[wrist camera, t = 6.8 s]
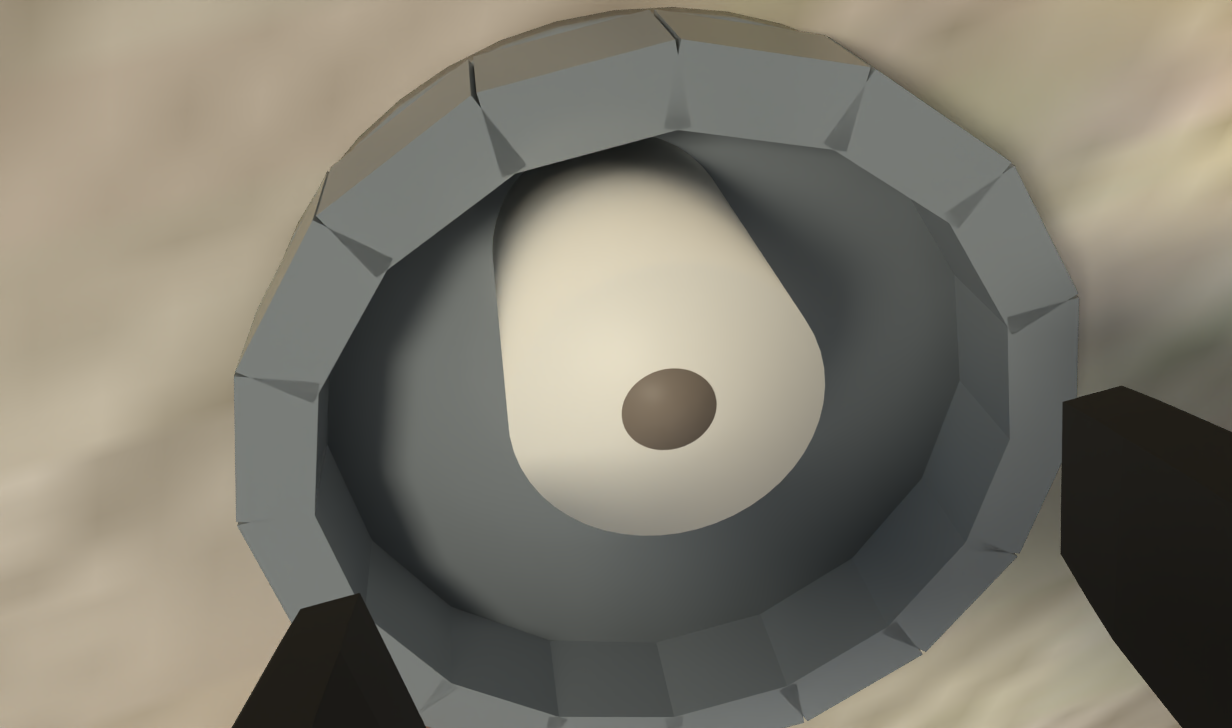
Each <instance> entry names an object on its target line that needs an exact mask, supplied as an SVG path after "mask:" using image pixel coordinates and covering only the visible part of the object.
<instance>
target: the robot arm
mask: <svg viewBox="0 0 1232 728" xmlns="http://www.w3.org/2000/svg"><path fill="white" fill-rule="evenodd" d="M1061 555H1062V557H1063V558H1064V560H1065V562H1066V564H1067V565H1068V567H1069V569H1070V570H1071V572H1072V574H1073V575H1074V577H1075V579H1076V581H1077V582H1078V584H1079V586H1080V587H1081V589H1082V591H1083V592H1084V594H1085V596H1086V598H1087V599H1088V601H1089V602H1090V604H1091V606H1092V607H1093V609H1094V610H1095V612H1096V614H1097V615H1098V617H1099V618H1100V620H1101V622H1102V623H1103V625H1104V626H1105V628H1106V630H1107V631H1108V633H1109V634H1110V636H1111V637H1112V639H1113V640H1114V642H1115V643H1116V644H1117V646H1118V647H1119V648H1120V650H1121V651H1122V652H1123V653H1124V655H1125V656H1126V657H1127V659H1128V660H1129V661H1130V663H1131V664H1132V665H1133V666H1134V668H1135V669H1136V670H1137V671H1138V673H1139V674H1140V675H1141V676H1142V678H1143V679H1144V680H1145V682H1146V683H1147V684H1148V685H1149V687H1150V688H1151V689H1152V690H1153V692H1154V693H1155V694H1156V695H1157V697H1158V698H1159V699H1160V701H1161V702H1162V703H1163V704H1164V706H1165V707H1166V708H1167V709H1168V711H1169V712H1170V713H1171V714H1172V716H1173V717H1174V718H1175V719H1176V721H1177V722H1178V723H1179V724H1180V726H1181V727H1182V728H1232V432H1230V431H1228V430H1226V429H1223V428H1221V427H1219V426H1216V425H1214V424H1212V423H1210V422H1207V421H1205V420H1203V419H1201V418H1198V417H1196V416H1194V415H1191V414H1189V413H1187V412H1185V411H1182V410H1180V409H1178V408H1175V407H1173V406H1171V405H1168V404H1166V403H1164V402H1161V401H1159V400H1157V399H1154V398H1152V397H1149V396H1147V395H1144V394H1142V393H1139V392H1137V391H1134V390H1132V389H1129V388H1126V387H1124V386H1119V387H1115V388H1112V389H1108V390H1104V391H1101V392H1097V393H1093V394H1089V395H1086V396H1082V397H1078V398H1075V399H1071V400H1067V401H1064V402H1062V484H1061ZM232 728H426V726H425V724H424V722H423V720H422V718H421V716H420V714H419V712H418V710H417V708H416V706H415V704H414V702H413V700H412V698H411V696H410V694H409V692H408V689H407V687H406V685H405V683H404V681H403V679H402V677H401V675H400V673H399V671H398V669H397V667H396V665H395V663H394V661H393V659H392V657H391V655H390V653H389V651H388V649H387V647H386V645H385V643H384V641H383V639H382V637H381V635H380V633H379V631H378V629H377V627H376V624H375V622H374V620H373V618H372V616H371V614H370V612H369V610H368V608H367V606H366V604H365V602H364V600H363V598H362V596H361V594H360V593H357V594H353V595H350V596H346V597H342V598H339V599H335V600H331V601H328V602H324V603H320V604H317V605H313V606H309V607H305V608H302V609H300V610H299V612H298V614H297V615H296V617H295V619H294V620H293V622H292V624H291V625H290V627H289V629H288V630H287V632H286V634H285V635H284V637H283V639H282V640H281V642H280V644H279V646H278V647H277V649H276V651H275V653H274V654H273V656H272V658H271V660H270V661H269V663H268V665H267V667H266V668H265V670H264V672H263V674H262V676H261V677H260V679H259V681H258V683H257V684H256V686H255V688H254V690H253V691H252V693H251V695H250V697H249V698H248V700H247V702H246V704H245V705H244V707H243V709H242V711H241V712H240V714H239V716H238V718H237V719H236V721H235V723H234V725H233V726H232Z"/></svg>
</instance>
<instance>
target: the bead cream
mask: <svg viewBox="0 0 1232 728" xmlns="http://www.w3.org/2000/svg"><path fill="white" fill-rule="evenodd" d="M492 255H493V266H494V276H495V287H496V298H497V308H498V319H499V330H500V340H501V351H502V361H503V372H504V383H505V393H506V404H507V415H508V425H509V435H510V439H511V443H512V447H513V451H514V453H515V456H516V458H517V460H518V463H519V465H520V467H521V469H522V471H523V472H524V474H525V475H526V477H527V478H528V480H529V481H530V483H531V484H532V485H533V486H534V488H535V489H536V490H537V491H538V492H539V493H540V494H541V495H542V496H543V497H544V498H545V499H546V500H547V501H548V502H550V503H551V504H552V505H553V506H554V507H556V508H557V509H559V510H560V511H562V512H563V513H565V514H567V515H568V516H570V517H572V518H574V519H576V520H578V521H580V522H582V523H584V524H587V525H590V526H593V527H596V528H599V529H602V530H605V531H610V532H615V533H620V534H628V535H638V536H656V535H668V534H677V533H682V532H687V531H691V530H696V529H699V528H703V527H706V526H709V525H712V524H715V523H717V522H720V521H722V520H724V519H726V518H729V517H731V516H733V515H735V514H737V513H739V512H740V511H742V510H744V509H746V508H747V507H749V506H751V505H752V504H754V503H755V502H757V501H758V500H759V499H761V498H762V497H764V496H765V495H766V494H768V493H769V492H770V491H771V490H772V489H773V488H774V487H775V486H777V485H778V484H779V483H780V482H781V481H782V480H783V479H784V478H785V477H786V475H787V474H788V473H789V472H790V471H791V470H792V469H793V468H794V466H795V465H796V463H797V462H798V461H799V459H800V458H801V456H802V455H803V454H804V452H805V450H806V448H807V447H808V445H809V443H810V441H811V439H812V437H813V435H814V432H815V430H816V427H817V425H818V422H819V419H820V415H821V411H822V407H823V403H824V392H825V375H824V365H823V360H822V356H821V351H820V348H819V346H818V343H817V341H816V338H815V336H814V334H813V332H812V330H811V328H810V327H809V325H808V323H807V322H806V320H805V318H804V317H803V315H802V314H801V312H800V311H799V309H798V308H797V306H796V305H795V303H794V302H793V300H792V299H791V297H790V296H789V294H788V293H787V291H786V290H785V288H784V287H783V285H782V284H781V282H780V280H779V279H778V277H777V276H776V274H775V273H774V271H773V270H772V268H771V267H770V265H769V264H768V262H767V261H766V259H765V258H764V256H763V255H762V253H761V252H760V250H759V249H758V247H757V246H756V244H755V243H754V241H753V240H752V238H751V237H750V235H749V234H748V232H747V230H746V229H745V227H744V226H743V224H742V223H741V221H740V220H739V218H738V217H737V215H736V214H735V212H734V211H733V209H732V208H731V206H730V205H729V203H728V202H727V200H726V199H725V197H724V196H723V194H722V193H721V191H720V190H719V188H718V187H717V185H716V184H715V182H714V181H713V179H712V178H711V176H710V175H709V174H708V173H707V171H706V170H705V169H704V168H703V166H701V165H700V164H699V163H698V162H697V161H696V160H695V159H694V158H693V157H692V156H690V155H689V154H688V153H686V152H685V151H683V150H682V149H680V148H679V147H677V146H675V145H673V144H671V143H669V142H667V141H665V140H662V139H659V138H656V137H650V138H646V139H642V140H638V141H635V142H631V143H627V144H623V145H620V146H616V147H612V148H609V149H605V150H601V151H597V152H594V153H590V154H586V155H582V156H579V157H575V158H571V159H568V160H564V161H560V162H556V163H553V164H549V165H545V166H541V167H538V168H534V169H530V170H527V171H525V172H524V173H523V174H522V175H521V176H520V177H519V178H518V179H517V181H516V182H515V183H514V185H513V186H512V188H511V189H510V191H509V192H508V194H507V196H506V198H505V200H504V202H503V204H502V206H501V208H500V211H499V214H498V217H497V220H496V223H495V228H494V234H493V245H492Z"/></svg>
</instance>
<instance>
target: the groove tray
mask: <svg viewBox="0 0 1232 728" xmlns="http://www.w3.org/2000/svg"><path fill="white" fill-rule="evenodd" d="M650 137H656V138H659V139H662V140H665V141H667V142H669V143H671V144H673V145H675V146H677V147H679V148H680V149H682V150H683V151H685V152H686V153H688V154H689V155H690V156H692V157H693V158H694V159H695V160H696V161H697V162H698V163H699V164H700V165H701V166H703V168H704V169H705V170H706V171H707V173H708V174H709V175H710V176H711V178H712V179H713V181H714V182H715V184H716V185H717V187H718V188H719V190H720V191H721V193H722V194H723V196H724V197H725V199H726V200H727V202H728V203H729V205H730V206H731V208H732V209H733V211H734V212H735V214H736V215H737V217H738V218H739V220H740V221H741V223H742V224H743V226H744V227H745V229H746V230H747V232H748V234H749V235H750V237H751V238H752V240H753V241H754V243H755V244H756V246H757V247H758V249H759V250H760V252H761V253H762V255H763V256H764V258H765V259H766V261H767V262H768V264H769V265H770V267H771V268H772V270H773V271H774V273H775V274H776V276H777V277H778V279H779V280H780V282H781V284H782V285H783V287H784V288H785V290H786V291H787V293H788V294H789V296H790V297H791V299H792V300H793V302H794V303H795V305H796V306H797V308H798V309H799V311H800V312H801V314H802V315H803V317H804V318H805V320H806V322H807V323H808V325H809V327H810V328H811V330H812V332H813V334H814V336H815V338H816V341H817V343H818V346H819V348H820V351H821V356H822V360H823V365H824V375H825V392H824V403H823V407H822V411H821V415H820V419H819V422H818V425H817V427H816V430H815V432H814V435H813V437H812V439H811V441H810V443H809V445H808V447H807V448H806V450H805V452H804V454H803V455H802V456H801V458H800V459H799V461H798V462H797V463H796V465H795V466H794V468H793V469H792V470H791V471H790V472H789V473H788V474H787V475H786V477H785V478H784V479H783V480H782V481H781V482H780V483H779V484H778V485H777V486H775V487H774V488H773V489H772V490H771V491H770V492H769V493H768V494H766V495H765V496H764V497H762V498H761V499H759V500H758V501H757V502H755V503H754V504H752V505H751V506H749V507H747V508H746V509H744V510H742V511H740V512H739V513H737V514H735V515H733V516H731V517H729V518H726V519H724V520H722V521H720V522H717V523H715V524H712V525H709V526H706V527H703V528H699V529H696V530H691V531H687V532H682V533H677V534H668V535H656V536H638V535H628V534H620V533H615V532H610V531H605V530H602V529H599V528H596V527H593V526H590V525H587V524H584V523H582V522H580V521H578V520H576V519H574V518H572V517H570V516H568V515H567V514H565V513H563V512H562V511H560V510H559V509H557V508H556V507H554V506H553V505H552V504H551V503H550V502H548V501H547V500H546V499H545V498H544V497H543V496H542V495H541V494H540V493H539V492H538V491H537V490H536V489H535V488H534V486H533V485H532V484H531V483H530V481H529V480H528V478H527V477H526V475H525V474H524V472H523V471H522V469H521V467H520V465H519V463H518V460H517V458H516V456H515V453H514V451H513V447H512V443H511V439H510V435H509V425H508V415H507V404H506V393H505V383H504V372H503V361H502V351H501V340H500V330H499V319H498V308H497V298H496V287H495V276H494V266H493V255H492V245H493V234H494V228H495V223H496V220H497V217H498V214H499V211H500V208H501V206H502V204H503V202H504V200H505V198H506V196H507V194H508V192H509V191H510V189H511V188H512V186H513V185H514V183H515V182H516V181H517V179H518V178H519V177H520V176H521V175H522V174H523V173H524V172H525V171H527V170H530V169H534V168H538V167H541V166H545V165H549V164H553V163H556V162H560V161H564V160H568V159H571V158H575V157H579V156H582V155H586V154H590V153H594V152H597V151H601V150H605V149H609V148H612V147H616V146H620V145H623V144H627V143H631V142H635V141H638V140H642V139H646V138H650ZM1077 294H1078V292H1077V290H1076V288H1075V286H1074V284H1073V282H1072V280H1071V278H1070V276H1069V274H1068V272H1067V270H1066V268H1065V266H1064V264H1063V262H1062V260H1061V258H1060V256H1059V254H1058V252H1057V250H1056V248H1055V246H1054V244H1053V242H1052V240H1051V238H1050V236H1049V234H1048V232H1047V230H1046V228H1045V226H1044V224H1043V222H1042V220H1041V218H1040V216H1039V214H1038V212H1037V210H1036V208H1035V206H1034V204H1033V202H1032V200H1031V198H1030V196H1029V194H1028V192H1027V190H1026V188H1025V186H1024V184H1023V182H1022V180H1021V178H1020V176H1019V174H1018V172H1017V170H1016V168H1015V166H1014V165H1012V164H1011V162H1010V161H1009V160H1007V159H1006V158H1004V157H1003V156H1001V155H1000V154H999V153H997V152H996V151H994V150H993V149H991V148H990V147H988V146H987V145H985V144H984V143H983V142H981V141H980V140H978V139H977V138H975V137H974V136H972V135H971V134H969V133H968V132H967V131H965V130H964V129H962V128H961V127H959V126H958V125H956V124H955V123H953V122H952V121H951V120H949V119H948V118H946V117H945V116H943V115H942V114H940V113H939V112H938V111H936V110H935V109H933V108H932V107H930V106H929V105H927V104H926V103H924V102H923V101H922V100H920V99H919V98H917V97H916V96H914V95H913V94H911V93H910V92H908V91H907V90H906V89H904V88H903V87H901V86H900V85H898V84H897V83H895V82H894V81H892V80H891V79H890V78H888V77H887V76H885V75H884V74H882V73H881V72H879V71H878V70H876V69H875V68H874V67H872V66H871V65H869V64H868V63H866V62H865V61H863V60H862V59H860V58H859V57H857V56H856V55H854V54H853V53H851V52H850V51H849V50H847V49H846V48H844V47H843V46H841V45H840V44H838V43H837V42H835V41H834V40H832V39H831V38H829V37H828V38H827V37H826V36H825V35H820V34H813V33H807V32H800V31H798V30H795V29H793V28H790V27H788V26H785V25H783V24H779V23H775V22H770V21H766V20H761V19H757V18H753V17H748V16H744V15H740V14H735V13H731V12H724V11H712V10H700V9H688V8H676V7H666V8H648V9H630V10H613V11H608V12H603V13H598V14H593V15H588V16H583V17H578V18H573V19H567V20H562V21H557V22H554V23H551V24H548V25H545V26H542V27H539V28H536V29H533V30H530V31H527V32H524V33H522V34H519V35H516V36H513V37H510V38H507V39H504V40H501V41H499V42H497V43H495V44H493V45H491V46H489V47H487V48H485V49H483V50H481V51H479V52H477V53H475V54H473V55H471V56H469V57H467V58H465V59H463V60H461V61H459V62H457V63H455V64H453V65H451V66H449V67H447V68H446V69H444V70H443V71H441V72H440V73H438V74H437V75H435V76H434V77H432V78H431V79H429V80H428V81H427V82H425V83H424V84H422V85H421V86H419V87H418V88H416V89H415V90H413V91H412V92H410V93H409V94H408V95H406V96H405V97H403V98H402V99H400V100H399V101H398V102H397V103H396V104H395V105H394V106H393V107H392V108H390V109H389V110H388V111H387V112H386V113H385V114H384V115H383V116H382V117H381V118H379V119H378V120H377V121H376V122H375V123H374V124H373V125H372V126H371V127H370V128H368V129H367V130H366V131H365V132H364V133H363V134H362V135H361V136H360V137H359V138H358V139H357V140H356V141H355V143H354V144H353V145H352V146H351V147H350V149H349V150H348V151H347V152H346V153H345V155H344V156H343V157H342V158H341V159H340V160H339V161H338V162H337V163H335V164H334V165H333V166H332V167H331V168H330V171H329V172H328V171H327V173H326V175H325V177H324V179H323V181H322V183H321V185H320V187H319V189H318V191H317V192H316V194H315V195H314V197H313V199H312V200H311V202H310V204H309V205H308V207H307V209H306V210H305V212H304V214H303V215H302V217H301V219H300V220H299V222H298V224H297V226H296V229H295V231H294V233H293V236H292V238H291V241H290V243H289V245H288V248H287V250H286V253H285V255H284V258H283V260H282V262H281V264H280V266H279V268H278V270H277V272H276V274H275V276H274V278H273V280H272V281H271V283H270V285H269V287H268V289H267V291H266V293H265V295H264V297H263V299H262V301H261V303H260V305H259V307H258V309H257V312H256V314H255V317H254V320H253V323H252V326H251V328H250V331H249V334H248V337H247V340H246V342H245V345H244V348H243V351H242V354H241V356H240V359H239V362H238V365H237V368H236V371H235V375H234V414H235V478H236V522H238V525H237V526H238V528H239V530H240V532H241V533H242V535H243V537H244V539H245V541H246V542H247V544H248V546H249V548H250V549H251V551H252V553H253V555H254V557H255V558H256V560H257V562H258V564H259V566H260V567H261V569H262V571H263V573H264V575H265V576H266V578H267V580H268V582H269V584H270V585H271V587H272V589H273V591H274V593H275V594H276V596H277V598H278V600H279V601H280V603H281V605H282V607H283V609H284V610H285V612H286V614H287V616H288V618H289V619H290V621H291V623H292V622H293V620H294V619H295V617H296V615H297V614H298V612H299V610H300V609H302V608H305V607H309V606H313V605H317V604H320V603H324V602H328V601H331V600H335V599H339V598H342V597H346V596H350V595H353V594H357V593H360V594H361V596H362V598H363V600H364V602H365V604H366V606H367V608H368V610H369V612H370V614H371V616H372V618H373V620H374V622H375V624H376V627H377V629H378V631H379V633H380V635H381V637H382V639H383V641H384V643H385V645H386V647H387V649H388V651H389V653H390V655H391V657H392V659H393V661H394V663H395V665H396V667H397V669H398V671H399V673H400V675H401V677H402V679H403V681H404V683H405V685H406V687H407V689H408V692H409V694H410V696H411V698H412V700H413V702H414V704H415V706H416V708H417V710H418V712H419V714H420V716H421V718H422V720H423V722H424V724H425V726H427V727H430V728H786V727H790V726H793V725H797V724H801V723H804V719H803V716H804V718H805V719H806V720H807V721H809V720H810V719H812V718H814V717H816V716H817V715H819V714H821V713H822V712H824V711H826V710H828V709H829V708H831V707H833V706H835V705H836V704H838V703H840V702H841V701H843V700H845V699H847V698H848V697H850V696H852V695H853V694H855V693H857V692H859V691H860V690H862V689H864V688H866V687H867V686H869V685H871V684H872V683H874V682H876V681H878V680H879V679H881V678H883V677H884V676H886V675H888V674H890V673H891V672H893V671H895V670H897V669H898V668H900V667H902V666H903V665H905V664H907V663H909V662H910V661H912V660H914V659H915V658H917V657H919V656H921V655H922V652H921V650H923V651H925V652H926V651H927V650H928V649H929V648H930V647H931V646H932V645H933V644H934V643H935V642H936V641H937V640H938V639H939V638H940V637H941V636H942V635H943V633H944V632H945V631H946V630H947V629H948V628H949V627H950V626H951V625H952V624H953V623H954V622H955V621H956V620H957V619H958V618H959V617H960V616H961V615H962V614H963V613H964V612H965V611H966V610H967V608H968V607H969V606H970V605H971V604H972V603H973V602H974V601H975V600H976V599H977V598H978V597H979V596H980V595H981V594H982V593H983V592H984V591H985V590H986V589H987V588H988V587H989V586H990V585H991V583H992V582H993V581H994V580H995V579H996V578H997V577H998V576H999V575H1000V574H1001V573H1002V572H1003V571H1004V570H1005V569H1006V568H1007V567H1008V566H1009V565H1010V564H1011V563H1012V562H1013V561H1014V560H1015V558H1016V557H1017V555H1016V554H1015V553H1020V551H1021V549H1022V547H1023V545H1024V543H1025V541H1026V539H1027V536H1028V534H1029V532H1030V530H1031V528H1032V526H1033V523H1034V521H1035V519H1036V517H1037V515H1038V513H1039V511H1040V508H1041V506H1042V504H1043V502H1044V500H1045V498H1046V495H1047V493H1048V491H1049V489H1050V487H1051V485H1052V482H1053V480H1054V478H1055V476H1056V474H1057V472H1058V470H1059V467H1060V465H1061V463H1062V402H1064V401H1067V400H1071V399H1075V398H1077V363H1078V322H1079V297H1078V296H1077Z"/></svg>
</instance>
